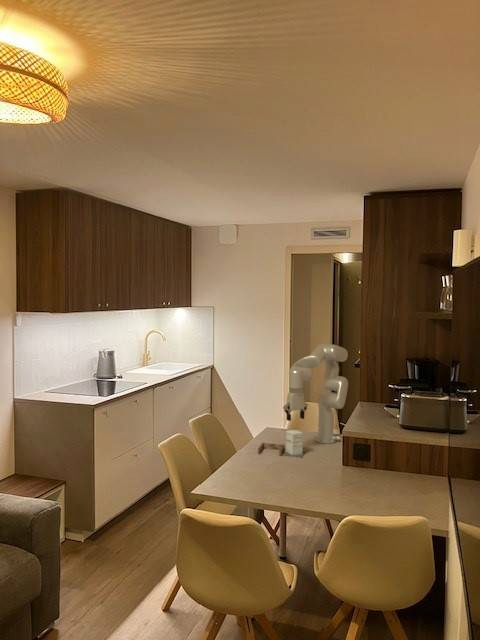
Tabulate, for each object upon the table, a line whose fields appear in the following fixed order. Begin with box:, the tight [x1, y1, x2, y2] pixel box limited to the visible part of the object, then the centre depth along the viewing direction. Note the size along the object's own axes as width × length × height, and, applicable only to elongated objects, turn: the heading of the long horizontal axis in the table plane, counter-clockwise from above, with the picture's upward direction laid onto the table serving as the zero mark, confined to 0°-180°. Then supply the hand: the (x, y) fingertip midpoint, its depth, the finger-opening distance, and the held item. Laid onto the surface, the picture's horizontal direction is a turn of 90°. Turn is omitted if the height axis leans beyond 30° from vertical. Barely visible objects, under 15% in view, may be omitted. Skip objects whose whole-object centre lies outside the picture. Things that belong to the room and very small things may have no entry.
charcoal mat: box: [282, 450, 306, 458], centre depth 310 cm, size 11×11×1 cm
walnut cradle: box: [257, 442, 286, 457], centre depth 313 cm, size 14×13×3 cm
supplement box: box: [285, 429, 304, 455], centre depth 310 cm, size 7×7×13 cm
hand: (295, 419), depth 309 cm, fingers open, 9 cm apart
